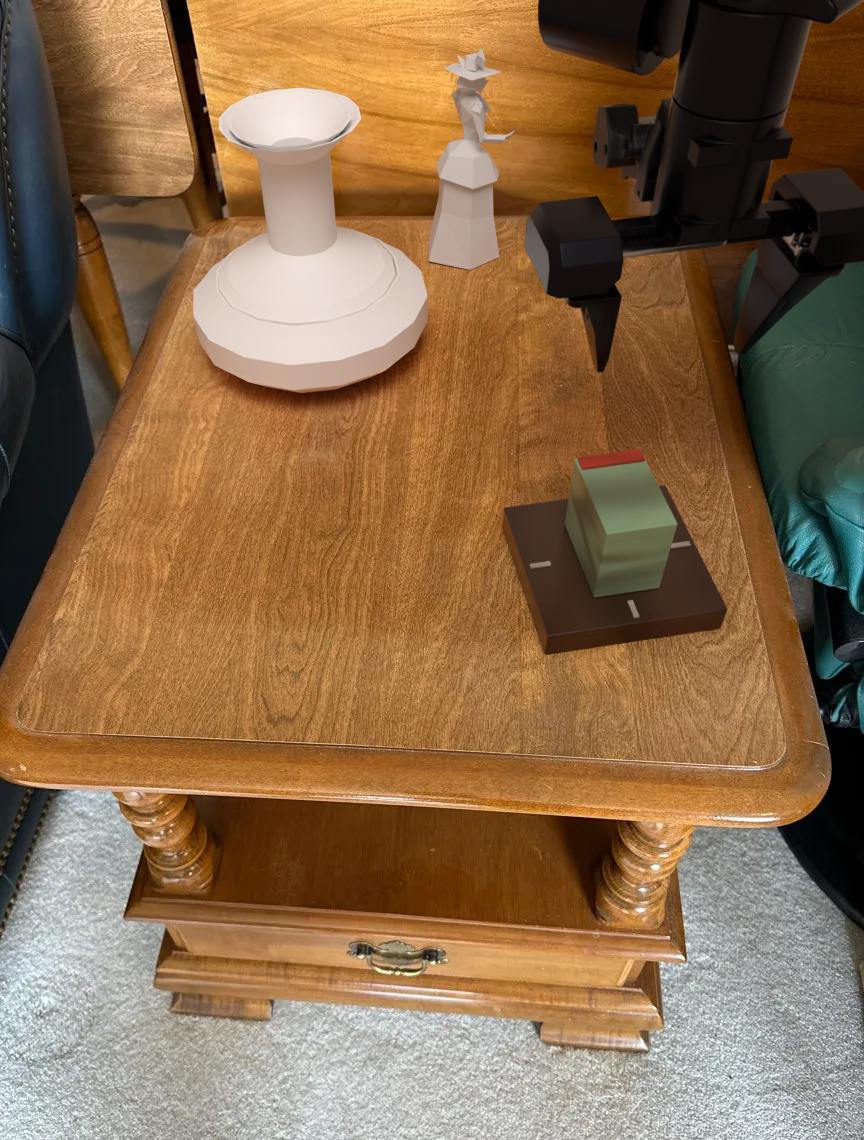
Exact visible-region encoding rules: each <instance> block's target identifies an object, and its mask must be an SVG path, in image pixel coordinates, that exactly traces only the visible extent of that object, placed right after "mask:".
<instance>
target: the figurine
mask: <svg viewBox="0 0 864 1140" xmlns="http://www.w3.org/2000/svg"><path fill="white" fill-rule="evenodd" d="M456 56H457V59H458V61H459V63H453V64H450V65H447V66H445V67H444V69H445V70H447V71H449V72H450V73H452V74H454V75H456V76H458V78H457V80H456V86H457V87H456V88H457V89H456V90H454V91H453V92H452V93H451V96H452V100H453V103H454V105H455V108H456V112H457V114H458V116H457V117H458V119H459V121H461V124H462V130H463V137H462V138H458V139H455V140H453V141H449V142H448V143H447V145H446V146H445V147H444V150H443V152H442V154H441V155H440V157H439V158H438V161H437V162H436V164H435V165H436V169H437V174H438V178H439V189H438V199H437V202H436V206H435V211H434V216H433V220H432V224H431V228H430V233H429V237H428V259H427V260H428V262H431V263H435V264H439V265H440V264H441V265H445V266H449V267H455V268H459V269H464V270H471V271H472V270H473V269H476V268H478V267H480V266H482V265H484V264H487V263H489V262H492V261H495V260H496V259H499V258H500V250H499V244H498V238H497V237H498V235H497V231H496V229H497V228H496V222H495V216H494V215H495V214H494V183H497V181H498V179H499V175H500V173H501V172H500V170H499V169H498V167H497V165H496V164H495V162H494V160H493V159H492V157H491V155H490V153H489V152H488V150H487V149H485V148H484V147H483V146H482V145H483V144H489V145H500V144H502V145H503V144H504V142H505V141H506V140H510V139H511V137H512V136H513V134H514V133H515V131H516V129H514V130H513V131H511V132H509V133H507V134H489V133H487V132H486V131H485V123H486V122H487V121H488V120H489V119H488V115H487V113H488V112H490V111H492V109H491V107H490V106H489V104H488V102H487V101H486V99H485V97H483V96H482V93H483V91H484V89H485V87H486V86H487V84H488V83H489V79H487V78H486V77H490V76H494V75H498V74H500V73H502V71H500V70H497V69H494V68H490V67H489V68H488V67H485V63H486V61H487V60H486V56H485V54H484V51H483V48H482V47H480V49H479V50H478V52H476V49H474V53H471V54H465V55H464V56H465V57H464V58H462V57H461V56H460V55H458V54H456Z"/></svg>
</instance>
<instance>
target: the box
mask: <svg viewBox="0 0 864 1140" xmlns="http://www.w3.org/2000/svg"><path fill="white" fill-rule="evenodd" d="M659 486H660V485H659V483H658V481H657V479H656V478H655V476H654V473H653V472H652V470H651V467H650V465H649V464H648V461H647V459H646V457H645V455H644V453H643V451H642V449H641V448H636V449H630V450H623V451H616V452H608V453H601V454H593V455H587V456H586V455H585V456H579V457H577V458H575V459H574V463H573V469H572V476H571V481H570V488H569V493H568V499H569V500H568V506H567V512H566V519H565V526H566V529H567V531H568V534H569V536H570V539H571V541H572V544H573V546H574V549H575V551H576V554H577V556H578V559H579V562H580V564H581V567H582V569H583V572H584V574H585V577H586V579H587V582H588V584H589V587H590V590H591V592H592V595H593V597H602V596H608V595H615V594H622V593H628V592H635V591H642V590H649V589H655V588H659V587H660V583H661V580H662V576H663V573H664V569H665V566H666V562H667V559H668V555H669V552H670V548H671V545H672V541H673V538H674V535H675V531H676V528H677V522H676V520H675V518H674V516H673V514H672V512H671V510H670V508H669V506H668V504H667V502H666V500H665V498H664V496H663V494H662V491H661V489H660V487H659Z"/></svg>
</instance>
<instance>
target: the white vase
mask: <svg viewBox="0 0 864 1140" xmlns="http://www.w3.org/2000/svg"><path fill="white" fill-rule="evenodd" d="M361 120H362V115H361V111H360V106H358V104H357V103H355V102H354V101H353V100H352V99H350V98H349V97H348V96H347V95H344V94H340V93H337V92H333V91H330V90H327V89H317V88H307V87H292V88H282V89H281V88H280V89H272V90H268V91H264V92H260V93H256V94H252V95H247V96H246V97H244V98H242V99H241V100H238V101H237V102H234V103H233V104H231V105H229V106H228V107H227V108H226V109H225V110H224V112H222V113H221V115H220V116H219V117H218V131H219V132H220V133H221V134H222V135H223V136H224V137H225V139H227V141H228V142H230V143H232V144H234V145H235V146H237V147H239V148H241V149H242V150H244V151H246V152H248V153H249V154H251V155H253V156H254V157H256V159H257V166H258V172H259V173H258V174H259V181H260V189H261V194H262V195H261V196H262V201H263V203H262V204H263V209H264V215H265V217H264V218H265V223H266V230H267V231H266V232H264V233H260V234H258V235H257V236H254V237H252V238H250V239H249V240H248V241H246V242H244V243H242V244H241V245H239V246H238V247H237V248H235V249H234V250H231V252H229V253H228V254H227V255H226V256H225V257H224V258H223V259H221V260H219V261H218V262H216V263H215V264H213V266H212V267H210V269H209V270H208V272H206V274H205V275H204V276H203V278H201V280H200V282H199V283H198V284H197V285H196V287H195V288H194V289H193V295H192V296H193V298H192V299H193V301H192V302H193V303H192V315H193V316H192V318H193V322H194V327H195V331H196V335H197V341H198V342H199V344H200V345H201V348H202V349H203V350H204V352H205V353H206V354H207V356H208V358H209V359H210V362H212V364H213V365H214V366H215V367H217V368H219V369H221V370H223V371H225V372H227V373H229V374H231V375H233V376H235V377H238V378H239V379H242V380H244V381H245V382H248V383H250V384H255V385H257V386H258V385H259V386H263V387H266V388H271V389H277V390H284V391H288V392H293V393H299V394H303V393H305V394H306V393H314V392H315V393H316V392H324V391H334V390H338V389H342V388H344V387H347V386H350V385H354V384H356V383H359V382H362V381H365V380H367V379H370V378H372V377H375V376H377V375H379V374H381V373H383V372H385V371H387V370H388V369H389V368H390V367H392V366H393V365H394V364H396V362H398V361H399V360H400V359H401V358H403V357H404V356H405V355H406V354H408V353H409V352H410V351H411V350H413V349H414V348H415V347H416V345H417V343H418V341H419V339H420V337H421V335H422V333H423V331H424V329H425V327H426V326H427V323H428V320H429V317H428V316H429V315H428V313H429V312H428V311H429V310H428V307H429V306H428V305H429V303H428V300H429V298H428V291H427V288H426V284H425V281H424V276H423V273H422V270H421V269H420V268H419V267H418V266H417V265H416V264H415V263H414V262H413V261H412V260H411V259H410V258H409V257H408V256H407V255H406V254H405V253H404V252H403V251H402V250H401V249H399V248H397V247H394V246H392V245H390V244H388V243H386V242H384V241H383V240H381V239H379V238H377V237H374V236H372V235H369V234H367V233H364V232H361V231H359V230H356V229H353V228H348V227H343V226H337V223H336V222H337V221H336V208H335V207H336V206H335V197H334V183H333V172H332V171H333V170H332V159H331V158H332V157H331V150H333V148H335V147H336V146H337V145H339V143H340V142H341V141H343V140H344V139H345V138H346V137H347V136H348V135H349V134H351V133H352V132H353V131H354V130H355V128H356V127H357V125H358V124H359V122H361Z"/></svg>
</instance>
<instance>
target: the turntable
mask: <svg viewBox="0 0 864 1140" xmlns="http://www.w3.org/2000/svg"><path fill="white" fill-rule="evenodd" d="M659 487H660V489H661V491H662V494H663V496H664V498H665V500H666V502H667V504H668V506H669V508H670V510H671V512H672V514H673V516H674V518H675V520H676V522H677V528H676V531H675V535H674V538H673V541H672V545H671V548H670V552H669V555H668V559H667V562H666V566H665V569H664V573H663V576H662V580H661V583H660V587H659V588H655V589H649V590H642V591H635V592H628V593H622V594H615V595H608V596H602V597H593V595H592V592H591V590H590V587H589V584H588V582H587V579H586V577H585V574H584V572H583V569H582V567H581V564H580V562H579V559H578V556H577V554H576V551H575V549H574V546H573V544H572V541H571V539H570V536H569V534H568V531H567V529H566V526H565V519H566V512H567V506H568V500H569V498H563V499H555V500H549V501H541V502H534V503H527V504H520V505H512V506H506V507H505V506H504V507H503V513H502V514H503V515H502V525H501V526H502V527H501V528H502V530H503V533H504V536H505V540H506V543H507V545H508V548H509V551H510V554H511V557H512V560H513V564H514V567H515V569H516V573H517V576H518V578H519V582H520V584H521V586H522V587H521V588H522V591H523V594H524V597H525V600H526V603H527V606H528V608H529V612H530V615H531V618H532V620H533V621H532V622H533V624H534V626H535V630H536V633H537V636H538V639H539V642H540V645H541V648H542V651H543V653H544V655H546V656H547V655H553V654H557V653H566V652H572V651H578V650H585V649H591V648H592V649H593V648H599V647H605V646H613V645H619V644H625V643H626V644H627V643H631V642H639V641H644V640H645V641H646V640H652V639H658V638H664V637H665V638H666V637H672V636H678V635H686V634H691V633H698V632H699V633H700V632H704V631H711V630H712V631H713V630H718V629H721V628H722V626H723V622H724V620H725V618H726V616H727V615H726V614H727V612H728V607H727V605H726V603H725V602H724V599H723V597H722V595H721V593H720V591H719V589H718V588H717V585H716V583H715V581H714V580H713V577H712V575H711V574H710V571H709V568H708V567H707V565H706V563H705V561H704V559H703V557H702V555H701V554H700V551H699V549H698V547H697V545H696V543H695V542H694V539H693V537H692V535H691V534H690V533H691V532H689V529H688V527H687V525H686V523H685V522H684V519H683V517H682V516H681V513H680V512H679V511H680V510H679V509H678V507H677V505H676V504H675V502H674V501H675V500H674V499H673V497H672V496H671V494H670V492H669V490H668V488H667V486H666V485H665V484H664V485H659Z"/></svg>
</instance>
